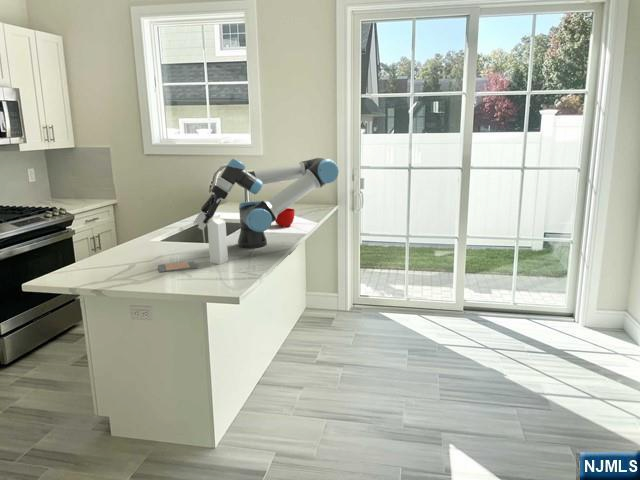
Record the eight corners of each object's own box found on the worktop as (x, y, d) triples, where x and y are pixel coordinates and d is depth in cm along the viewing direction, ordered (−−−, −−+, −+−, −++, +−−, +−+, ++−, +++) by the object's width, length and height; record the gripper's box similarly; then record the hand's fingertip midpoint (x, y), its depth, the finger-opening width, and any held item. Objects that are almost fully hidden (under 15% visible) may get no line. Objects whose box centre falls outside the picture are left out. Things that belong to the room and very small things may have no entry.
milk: (210, 263, 234) (206, 216, 229) (218, 259, 239) (214, 214, 234) (220, 264, 232) (217, 217, 226) (228, 261, 237) (225, 214, 232)
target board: (193, 262, 236) (193, 260, 236) (197, 268, 226) (196, 266, 226) (158, 266, 230) (158, 264, 230) (159, 272, 220) (159, 271, 220)
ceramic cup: (297, 222, 321) (296, 207, 318) (293, 228, 304) (292, 212, 302) (277, 222, 322) (276, 207, 320) (272, 228, 306) (271, 212, 303)
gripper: (211, 181, 251) (188, 217, 251) (219, 187, 228) (194, 227, 228) (223, 189, 254) (201, 225, 254) (233, 196, 231) (208, 235, 231)
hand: (198, 226), depth 241 cm, fingers open, 13 cm apart
